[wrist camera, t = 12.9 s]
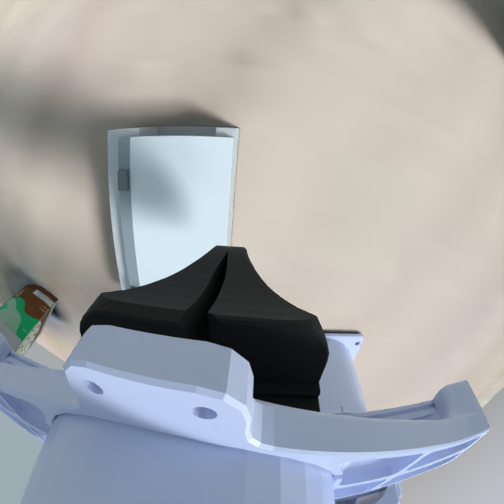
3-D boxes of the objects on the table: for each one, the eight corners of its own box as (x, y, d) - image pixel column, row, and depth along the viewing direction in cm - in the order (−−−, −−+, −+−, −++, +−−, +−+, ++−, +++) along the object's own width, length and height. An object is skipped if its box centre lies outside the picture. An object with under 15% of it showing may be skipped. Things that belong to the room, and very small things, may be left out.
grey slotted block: (227, 303, 23) (223, 331, 20) (142, 292, 23) (127, 316, 20) (239, 128, 17) (234, 128, 13) (132, 127, 16) (107, 130, 13)
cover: (223, 327, 19) (221, 335, 19) (139, 315, 19) (135, 322, 18) (233, 137, 14) (231, 138, 13) (123, 137, 14) (115, 138, 13)
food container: (26, 254, 22) (-31, 305, 13) (61, 293, 24) (11, 354, 15) (11, 305, 26) (-27, 349, 17) (40, 335, 27) (6, 384, 19)
